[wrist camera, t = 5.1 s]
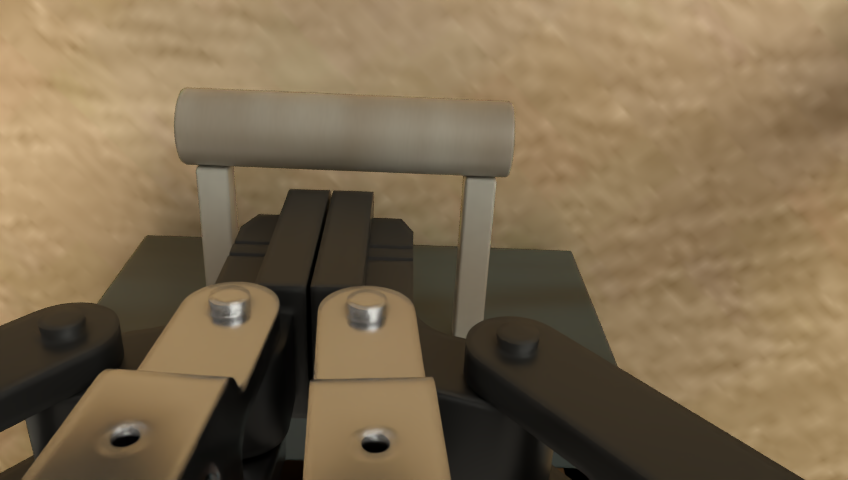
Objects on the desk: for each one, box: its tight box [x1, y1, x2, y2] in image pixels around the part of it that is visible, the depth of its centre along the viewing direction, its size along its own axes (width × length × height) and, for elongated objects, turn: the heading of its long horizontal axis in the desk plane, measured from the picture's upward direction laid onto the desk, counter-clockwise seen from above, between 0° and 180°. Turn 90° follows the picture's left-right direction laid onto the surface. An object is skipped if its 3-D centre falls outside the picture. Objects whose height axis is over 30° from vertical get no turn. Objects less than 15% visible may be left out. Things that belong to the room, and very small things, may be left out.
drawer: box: [97, 87, 618, 480], centre depth 18 cm, size 17×11×7 cm, turn 177°
